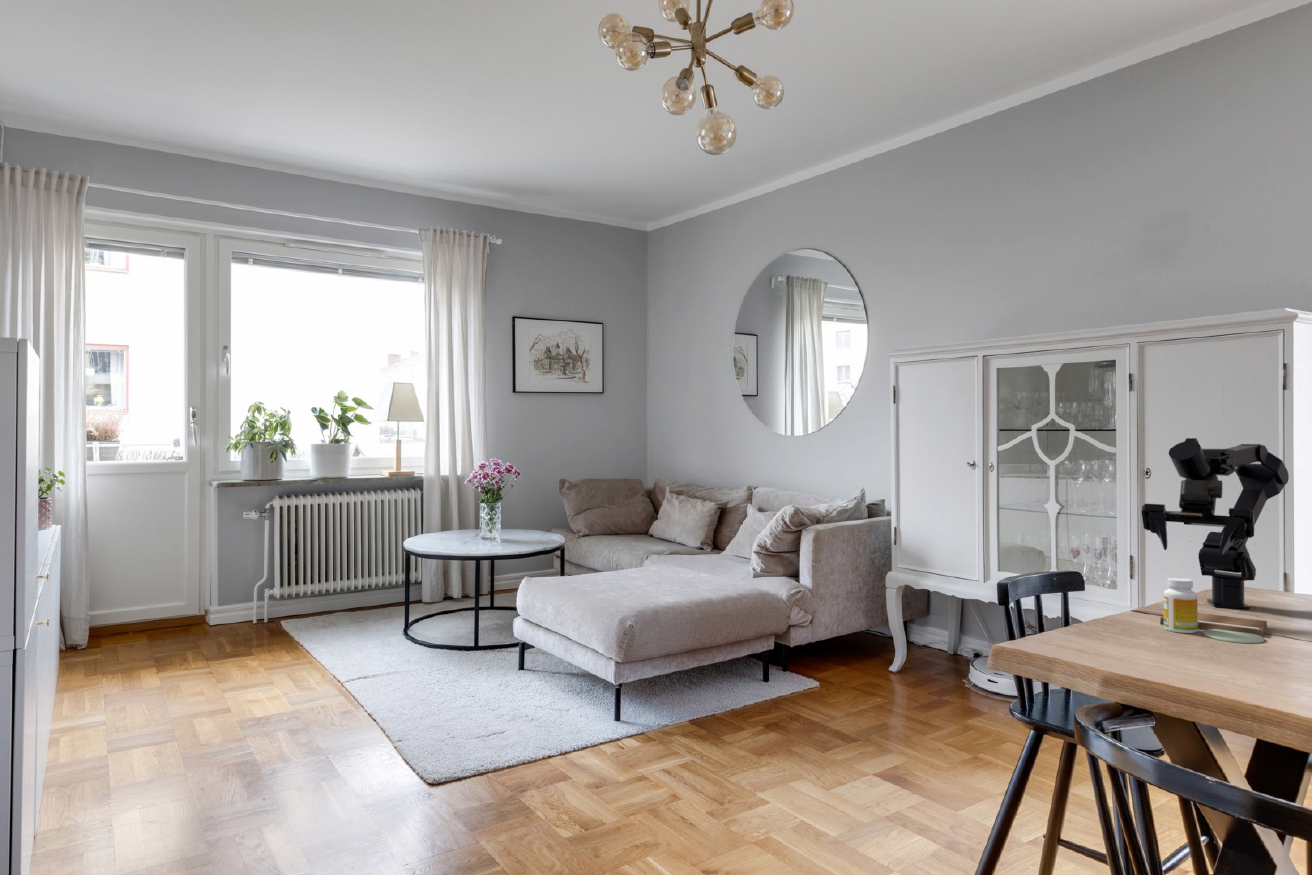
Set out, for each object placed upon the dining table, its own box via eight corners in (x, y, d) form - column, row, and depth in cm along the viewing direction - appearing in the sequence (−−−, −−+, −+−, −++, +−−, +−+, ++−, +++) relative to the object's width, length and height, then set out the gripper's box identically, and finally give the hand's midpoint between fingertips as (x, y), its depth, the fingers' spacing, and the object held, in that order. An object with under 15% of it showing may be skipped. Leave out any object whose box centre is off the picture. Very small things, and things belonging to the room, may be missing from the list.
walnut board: (1160, 623, 157) (1160, 617, 157) (1169, 615, 165) (1169, 609, 165) (1262, 636, 147) (1262, 629, 147) (1267, 627, 154) (1266, 620, 154)
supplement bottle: (1204, 632, 151) (1204, 580, 151) (1184, 634, 149) (1184, 582, 149) (1176, 626, 156) (1176, 576, 156) (1157, 628, 154) (1156, 578, 154)
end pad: (1198, 629, 153) (1198, 627, 153) (1255, 633, 149) (1255, 631, 149) (1210, 640, 144) (1210, 638, 144) (1271, 645, 141) (1271, 642, 141)
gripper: (1143, 464, 168) (1133, 519, 159) (1254, 468, 156) (1250, 526, 147) (1149, 501, 174) (1139, 556, 165) (1256, 507, 162) (1252, 566, 153)
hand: (1192, 550), depth 157 cm, fingers open, 9 cm apart
